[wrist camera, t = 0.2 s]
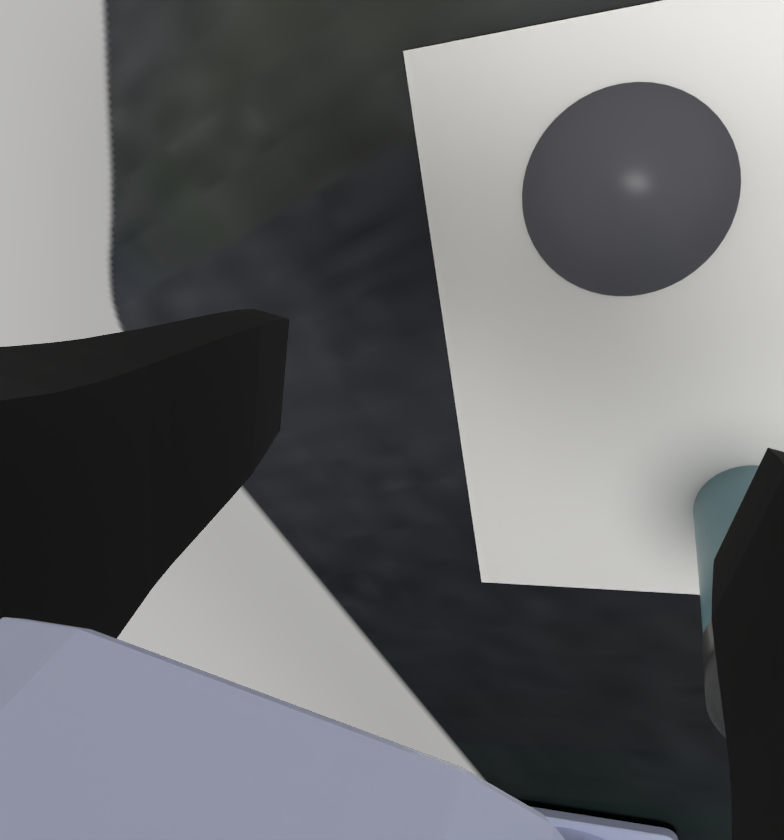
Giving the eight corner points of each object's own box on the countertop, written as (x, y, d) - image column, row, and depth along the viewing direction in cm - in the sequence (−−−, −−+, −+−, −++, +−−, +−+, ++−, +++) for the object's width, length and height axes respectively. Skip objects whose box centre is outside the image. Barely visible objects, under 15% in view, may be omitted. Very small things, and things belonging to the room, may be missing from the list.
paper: (904, 599, 21) (907, 608, 21) (483, 576, 25) (481, 583, 25) (1006, -67, 14) (1013, -69, 14) (406, 50, 18) (402, 51, 18)
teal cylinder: (810, 559, 21) (871, 773, 15) (691, 555, 22) (704, 752, 16) (818, 463, 20) (889, 655, 14) (691, 463, 21) (706, 642, 15)
